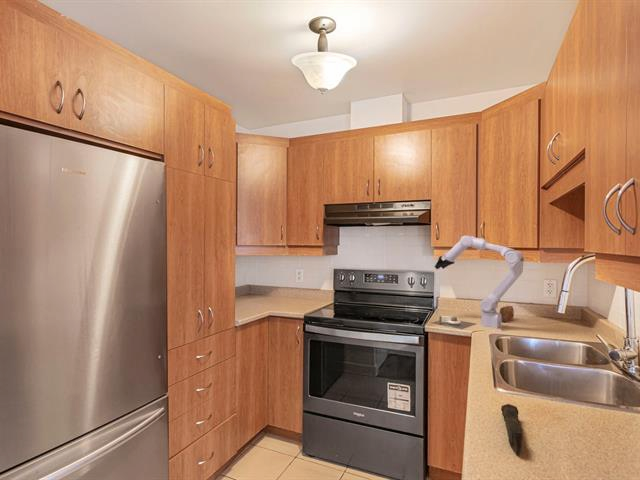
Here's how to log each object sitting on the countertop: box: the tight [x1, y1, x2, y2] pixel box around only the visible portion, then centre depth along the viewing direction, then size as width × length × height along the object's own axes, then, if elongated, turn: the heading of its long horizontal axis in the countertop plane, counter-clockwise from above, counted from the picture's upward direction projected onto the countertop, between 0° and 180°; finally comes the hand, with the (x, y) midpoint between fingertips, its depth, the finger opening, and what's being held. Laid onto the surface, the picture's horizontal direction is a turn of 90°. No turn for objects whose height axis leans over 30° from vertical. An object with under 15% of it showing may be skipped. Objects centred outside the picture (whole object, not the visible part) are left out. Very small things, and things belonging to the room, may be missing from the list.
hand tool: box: [500, 403, 523, 455], centre depth 90 cm, size 19×4×5 cm, turn 155°
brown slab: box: [498, 305, 515, 323], centre depth 215 cm, size 15×3×8 cm, turn 132°
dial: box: [438, 315, 462, 325], centre depth 202 cm, size 11×7×3 cm, turn 74°
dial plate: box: [431, 319, 477, 330], centre depth 202 cm, size 18×18×1 cm
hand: (438, 267), depth 216 cm, fingers open, 7 cm apart
